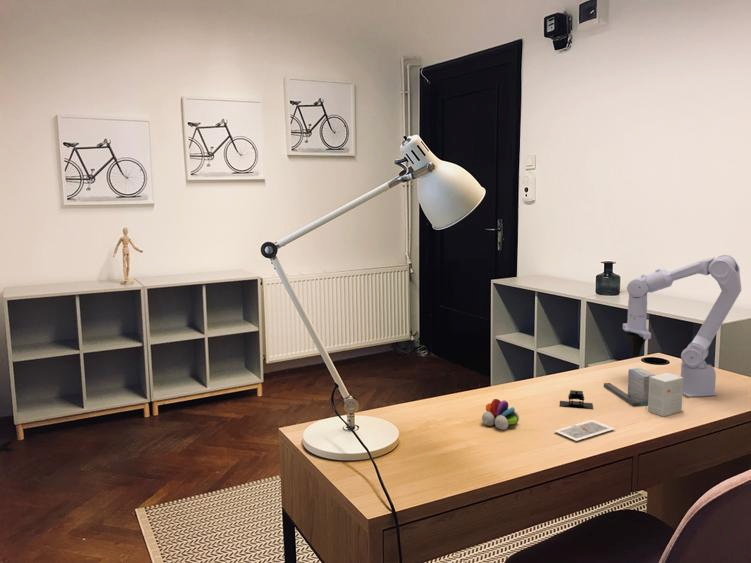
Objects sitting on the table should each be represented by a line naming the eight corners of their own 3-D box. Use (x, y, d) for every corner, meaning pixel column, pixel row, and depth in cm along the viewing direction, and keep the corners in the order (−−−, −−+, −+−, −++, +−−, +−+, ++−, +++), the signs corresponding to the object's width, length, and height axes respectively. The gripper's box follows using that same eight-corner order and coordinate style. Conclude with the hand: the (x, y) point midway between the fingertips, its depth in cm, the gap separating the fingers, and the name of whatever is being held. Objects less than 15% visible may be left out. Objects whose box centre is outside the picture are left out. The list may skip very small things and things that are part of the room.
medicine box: (655, 402, 195) (657, 374, 194) (642, 403, 194) (644, 376, 193) (639, 394, 203) (640, 367, 201) (626, 395, 202) (628, 368, 200)
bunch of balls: (495, 416, 186) (495, 392, 185) (524, 425, 180) (524, 400, 178) (477, 424, 181) (477, 399, 179) (506, 433, 174) (507, 408, 173)
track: (635, 385, 212) (635, 381, 211) (667, 404, 193) (667, 401, 193) (603, 386, 210) (603, 383, 210) (633, 406, 192) (633, 403, 192)
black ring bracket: (554, 409, 193) (554, 394, 192) (554, 401, 200) (555, 386, 199) (598, 412, 189) (598, 397, 189) (597, 404, 196) (597, 389, 195)
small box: (665, 406, 192) (667, 372, 190) (682, 412, 187) (684, 377, 185) (646, 411, 188) (648, 376, 187) (663, 417, 183) (665, 381, 182)
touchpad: (615, 432, 174) (615, 424, 174) (576, 444, 167) (576, 436, 166) (592, 423, 181) (592, 415, 181) (553, 434, 173) (553, 427, 173)
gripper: (614, 310, 217) (613, 350, 219) (636, 320, 202) (634, 362, 205) (634, 310, 217) (632, 349, 220) (658, 319, 203) (655, 361, 205)
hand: (635, 355), depth 212 cm, fingers closed
